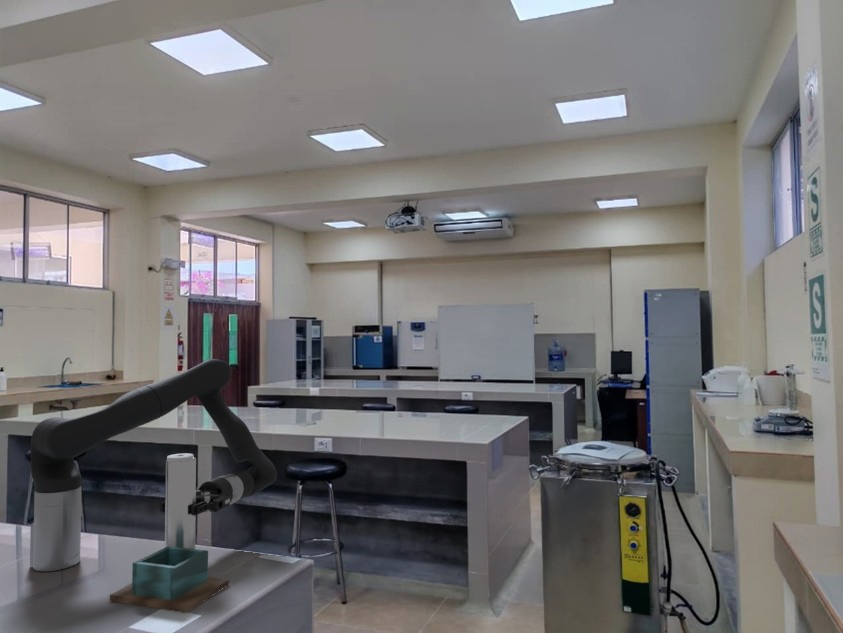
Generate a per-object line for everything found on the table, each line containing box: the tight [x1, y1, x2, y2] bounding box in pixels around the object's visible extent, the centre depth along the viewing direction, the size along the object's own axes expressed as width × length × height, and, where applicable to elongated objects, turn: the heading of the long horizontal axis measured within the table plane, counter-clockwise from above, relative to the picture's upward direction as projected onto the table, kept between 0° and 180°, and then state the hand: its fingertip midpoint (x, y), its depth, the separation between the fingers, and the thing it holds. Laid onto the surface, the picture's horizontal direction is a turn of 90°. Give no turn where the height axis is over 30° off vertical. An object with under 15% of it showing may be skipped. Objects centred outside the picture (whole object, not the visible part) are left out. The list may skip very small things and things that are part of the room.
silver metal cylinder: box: [164, 452, 197, 549], centre depth 135 cm, size 6×6×25 cm
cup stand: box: [109, 546, 230, 613], centre depth 120 cm, size 18×13×7 cm
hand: (176, 509), depth 134 cm, fingers open, 8 cm apart
